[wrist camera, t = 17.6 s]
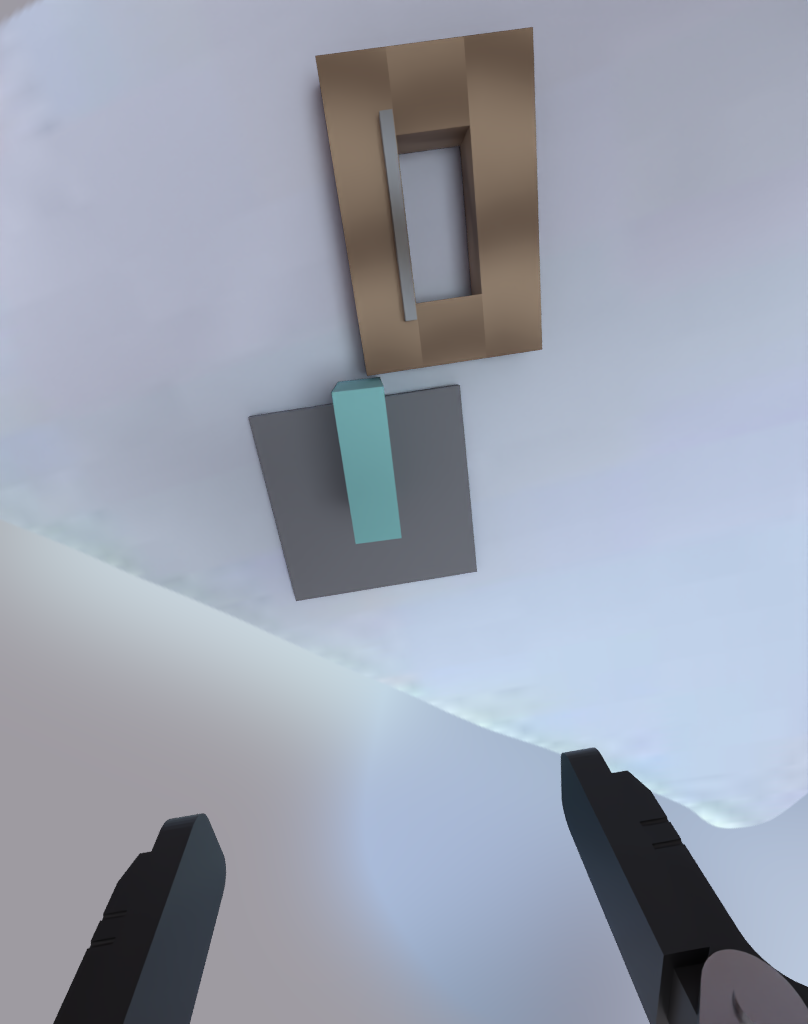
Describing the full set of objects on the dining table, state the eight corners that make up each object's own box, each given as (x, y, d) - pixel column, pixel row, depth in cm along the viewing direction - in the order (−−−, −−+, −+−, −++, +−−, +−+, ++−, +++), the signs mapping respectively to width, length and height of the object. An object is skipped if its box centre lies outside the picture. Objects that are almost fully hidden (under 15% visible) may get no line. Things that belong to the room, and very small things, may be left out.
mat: (250, 416, 28) (248, 417, 28) (457, 384, 29) (459, 385, 28) (297, 596, 33) (296, 600, 32) (475, 567, 33) (476, 571, 33)
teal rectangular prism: (357, 506, 30) (338, 381, 27) (394, 501, 30) (379, 377, 28) (355, 544, 25) (331, 392, 22) (401, 538, 25) (383, 386, 22)
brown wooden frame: (320, 84, 23) (313, 48, 20) (516, 58, 23) (537, 18, 20) (366, 372, 28) (367, 376, 25) (527, 348, 28) (546, 349, 25)
